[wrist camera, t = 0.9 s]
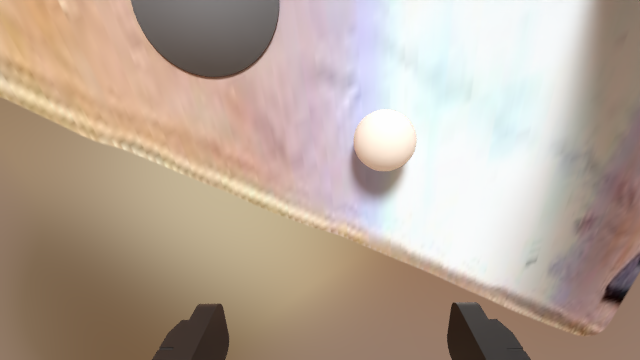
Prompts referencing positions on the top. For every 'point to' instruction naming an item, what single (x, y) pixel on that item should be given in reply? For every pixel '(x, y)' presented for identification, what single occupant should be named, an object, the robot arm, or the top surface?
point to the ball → (385, 140)
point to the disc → (208, 32)
